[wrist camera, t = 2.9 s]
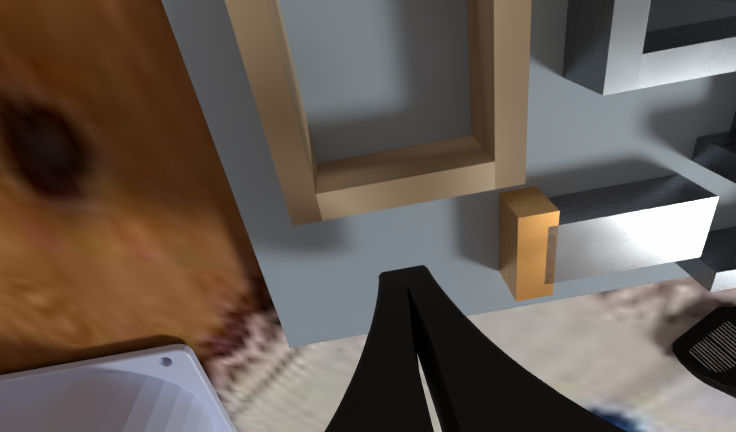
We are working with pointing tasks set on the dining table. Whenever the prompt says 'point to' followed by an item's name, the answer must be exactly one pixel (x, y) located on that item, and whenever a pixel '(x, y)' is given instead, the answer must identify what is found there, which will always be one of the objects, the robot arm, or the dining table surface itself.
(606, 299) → the dining table surface
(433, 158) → the brown piece
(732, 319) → the electric trimmer
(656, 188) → the key
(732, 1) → the frosted capsule tube
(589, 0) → the socket
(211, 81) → the board
